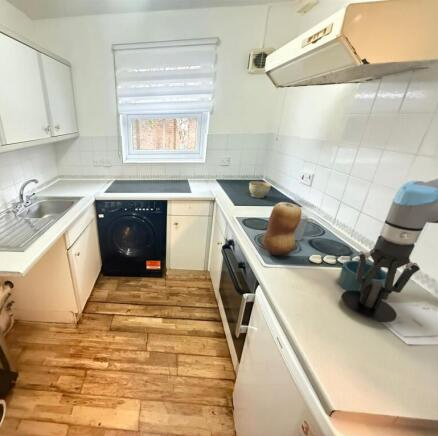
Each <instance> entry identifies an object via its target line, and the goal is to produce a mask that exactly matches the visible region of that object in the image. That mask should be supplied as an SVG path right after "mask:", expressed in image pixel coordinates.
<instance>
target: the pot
mask: <svg viewBox="0 0 438 436" xmlns="http://www.w3.org/2000/svg"><path fill="white" fill-rule="evenodd" d="M359 260H360V259H357V260H347V261H345V262H343V264H342V267H341V269H340V272H339V274H338V277H337V284H338V286H339V287H340V288H341V289H343V290H344V292H346V291H359V288H360V285H361V283H360V282H357V281H356V273H357V269H358V264H359ZM371 266H372V263H368V262H366V264H365V268H364V273H363V277H362V278H364V276H365V275H366V273H367V272H368V270H369V269H370V267H371ZM386 276H387V272H386V270H384V269H382V268H381V269H380V270H378V272H377V273H376V275H375V276H374V277H373V279H372V280H371V281H378V282H380V283H382V284H383V287H384V286H385V281H386ZM370 283H371V282H370ZM370 283H369V285H370Z"/></svg>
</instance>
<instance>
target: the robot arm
mask: <svg viewBox="0 0 438 436" xmlns="http://www.w3.org/2000/svg"><path fill="white" fill-rule="evenodd" d="M428 223H429V224H438V178H435V179H432V180H428V181H422V180H411V181H407V182H405V183H404V184H402V185H400V187H399V188H398V190H397V191H396V193H395V195H394V197H393V198H392V202H391V205H390V207H389V210H388V213H387V215H386V217H385V220H384V222H383V225H382V227H381V230H380V232H379V236H377V238H376V239H377V240H376V241H375V244H374V247H373V248H372V249H370V251H365V252H363V251H361V250H360V251H358V257H359V259H358V260H359V264H358V269H357V273H356V281H357V282H360V283H361V285H360V288H359V292H360V293H361V296H360V298H359V299H360V303H361V304H364V301H365V299H366V297H367V294H368V292H369V290H370V285H369V283H370V282H371V280H372V279H373V277H374V276H375V275H376V273H377V272H378V270H380V269H382V268H385V269H387V272H386V273H387V276H386V281H385V286H384V287H382V289H381V292H380V294H379V296H378V298H377V300H376V302H375V305H374V307H375V308H378V307H379V305H380V303H381V301H382V300H383V301H386V300H388V298H389V296H390V295H391V294H392V293H394V292H395V293H396V294H400V293H401V292H402V291H403V289H404V288H405V287H406V285H407V284H408V282H409V281H410V279H411V278H412V277H413V275H414V274H416V273H417V272H418V271H420V270H421V268H420V266H419V265H418V263H417V262H412V261H411V259H410V258H411V256H412V253H413V251H414V248H415V246H416V245H415V244H416V243H417V242H418V240H419V238H420V236H421V233H422V231H423V230H424V228H425V226H426V224H428ZM370 257H371V259H372V261H373V262H372V263H371V265H372V266H371V267H370V269H369V270H368V272H367V273H366V275H365V276H364V278H362V277H363V273H364V268H365V264H366V263H367V261H368V260H369V258H370ZM403 266H404V267H405V268H404V269H403V270H402V272H401V273H400V275H399V276H398V278H397V279H396V281H395V277H396V274H397V270H398V269H399V268H401V267H403ZM394 282H395V283H394Z"/></svg>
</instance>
